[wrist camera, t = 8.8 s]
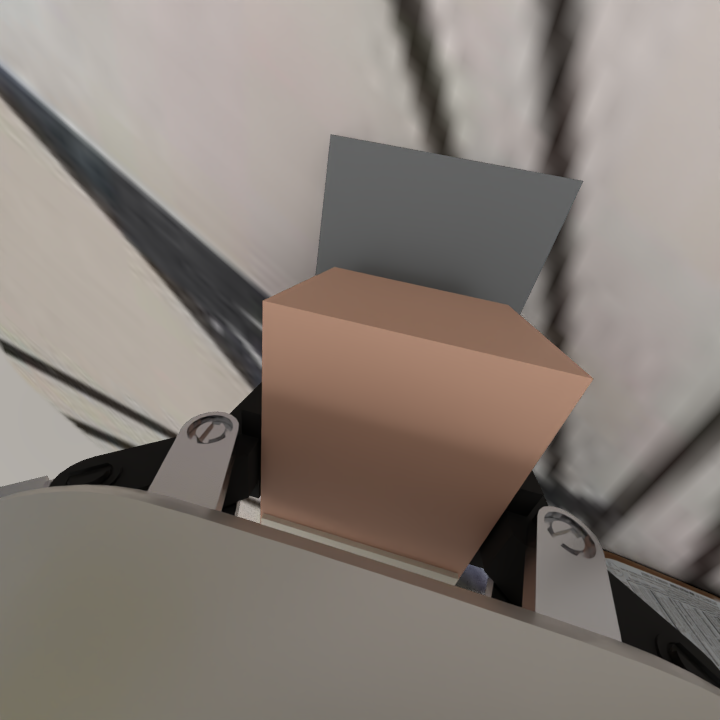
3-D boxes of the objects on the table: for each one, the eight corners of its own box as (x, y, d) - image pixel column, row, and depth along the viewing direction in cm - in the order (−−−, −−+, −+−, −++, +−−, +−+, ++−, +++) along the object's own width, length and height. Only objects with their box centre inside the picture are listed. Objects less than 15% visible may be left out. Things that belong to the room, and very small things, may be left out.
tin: (533, 547, 20) (600, 735, 13) (561, 523, 19) (657, 721, 11) (729, 627, 20) (919, 870, 12) (774, 610, 18) (1020, 873, 11)
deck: (508, 304, 9) (598, 383, 5) (429, 484, 13) (435, 620, 9) (334, 267, 10) (258, 302, 5) (311, 450, 14) (257, 561, 9)
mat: (435, 484, 19) (435, 491, 19) (300, 444, 20) (296, 450, 19) (575, 183, 11) (583, 181, 10) (334, 138, 12) (330, 134, 11)
